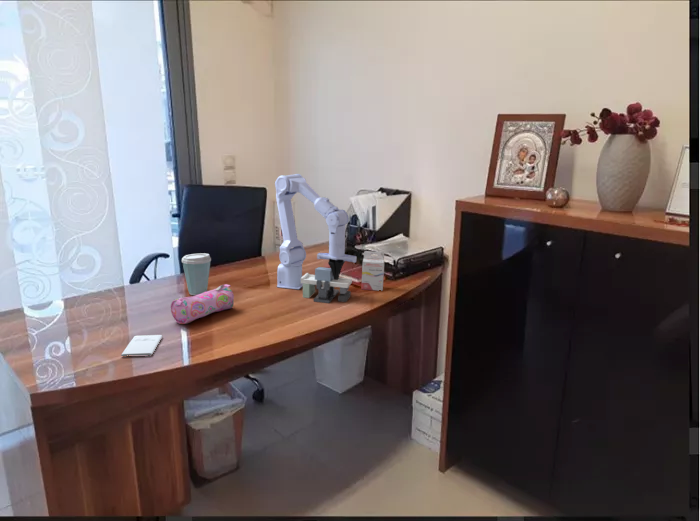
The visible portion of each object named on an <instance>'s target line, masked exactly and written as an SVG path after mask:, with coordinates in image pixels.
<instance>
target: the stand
mask: <svg viewBox="0 0 700 521" xmlns="http://www.w3.org/2000/svg"><path fill="white" fill-rule="evenodd" d="M322 286H323V285H322V280H317V285H316V290H318V294H317V295H316V296H314V298H313V302H316V303H321V304H322V303H323V304H330V303H331V302H332V301H333V300H334V299H335V298H336V296H338V294H340V289H336V288H335V287H333V286H330V281H325V282H324V289H321V287H322Z"/></svg>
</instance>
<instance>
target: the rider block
mask: <svg viewBox="0 0 700 521" xmlns="http://www.w3.org/2000/svg"><path fill="white" fill-rule="evenodd" d="M314 275H315V280H323V281H331V280H333V279H334V277H333V273H332V270H331V268H330V267H322V266H319V267H316V268H314Z"/></svg>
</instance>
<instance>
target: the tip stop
mask: <svg viewBox="0 0 700 521" xmlns="http://www.w3.org/2000/svg"><path fill="white" fill-rule="evenodd" d="M351 296H352V291H351V290H348V291H347V292H346V293H345V294H341V293H339V295H337V302H340V303H346V302H348V300H349V299H350V298H351Z"/></svg>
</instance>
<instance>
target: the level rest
mask: <svg viewBox="0 0 700 521" xmlns="http://www.w3.org/2000/svg"><path fill="white" fill-rule="evenodd" d="M314 294H316V285H314V284H305V283H303V286H302V298H304V299H305V298H306V299H310V298H311V297H312V296H313V295H314Z"/></svg>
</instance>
